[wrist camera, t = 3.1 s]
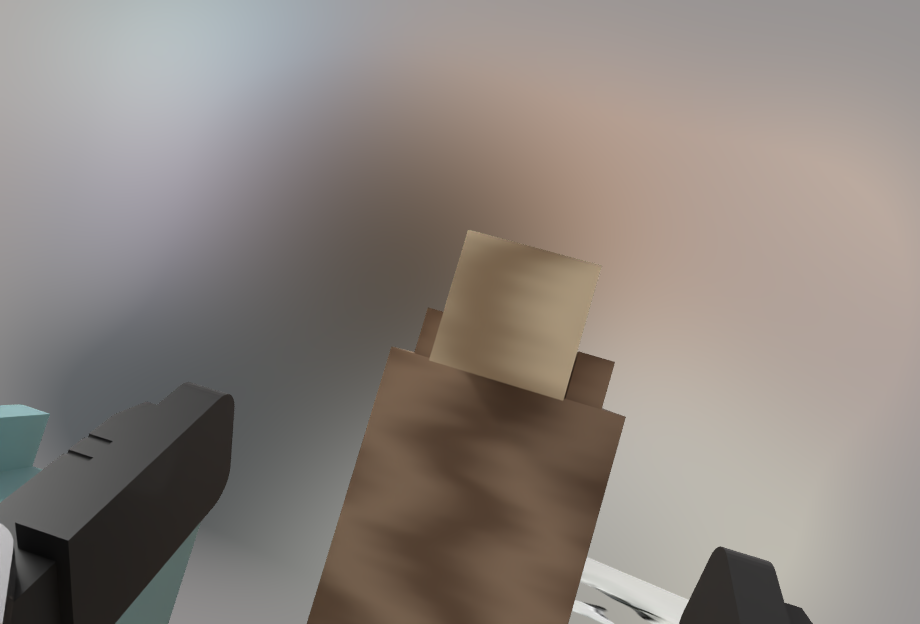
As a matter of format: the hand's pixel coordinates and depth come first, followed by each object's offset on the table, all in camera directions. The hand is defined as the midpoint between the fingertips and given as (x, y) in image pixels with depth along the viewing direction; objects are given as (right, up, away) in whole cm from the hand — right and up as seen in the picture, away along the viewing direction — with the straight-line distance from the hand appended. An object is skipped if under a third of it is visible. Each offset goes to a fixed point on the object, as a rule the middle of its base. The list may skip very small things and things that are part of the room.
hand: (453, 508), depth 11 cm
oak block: (+2, 0, +21) cm, 21 cm away
